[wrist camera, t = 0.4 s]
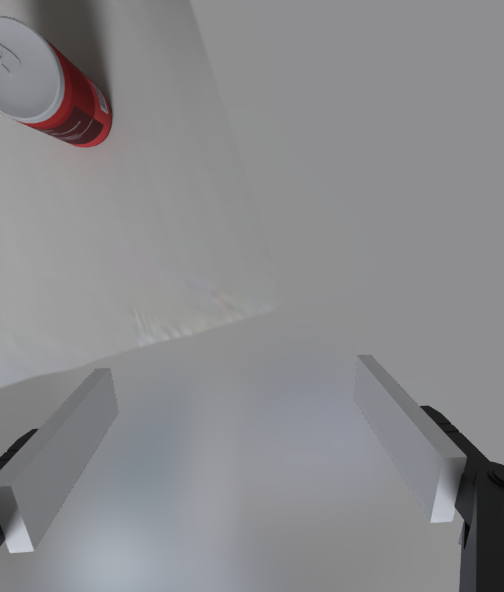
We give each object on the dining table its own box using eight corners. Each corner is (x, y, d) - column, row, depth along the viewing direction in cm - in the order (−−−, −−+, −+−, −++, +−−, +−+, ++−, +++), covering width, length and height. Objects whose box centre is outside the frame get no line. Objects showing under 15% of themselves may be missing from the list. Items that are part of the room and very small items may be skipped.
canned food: (63, 62, 33) (-19, -9, 23) (125, 105, 35) (75, 57, 24) (38, 123, 35) (-49, 82, 24) (98, 161, 36) (40, 139, 26)
